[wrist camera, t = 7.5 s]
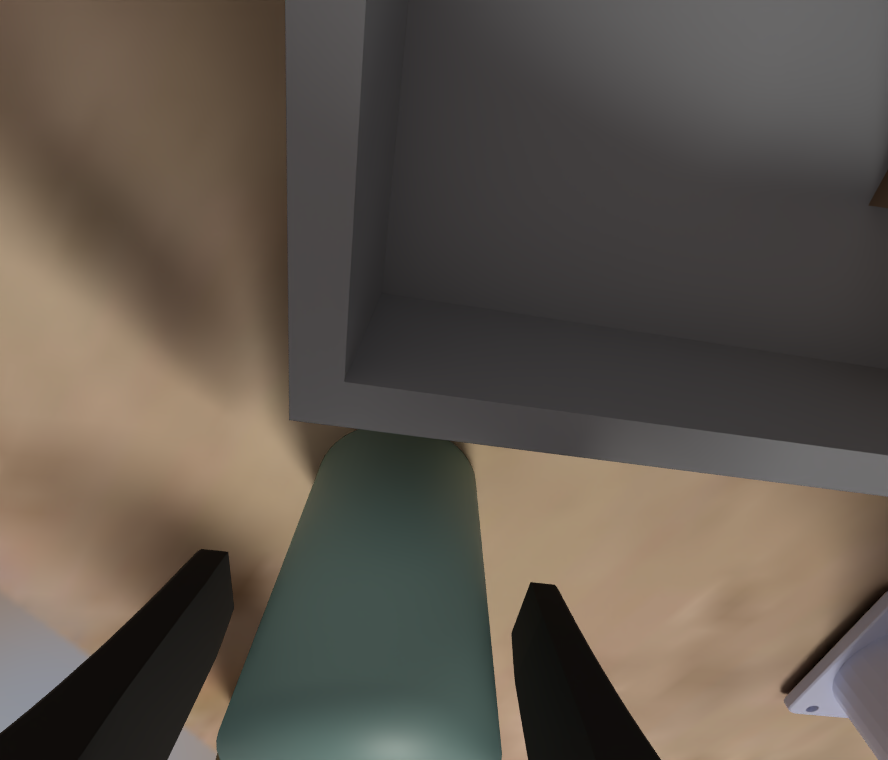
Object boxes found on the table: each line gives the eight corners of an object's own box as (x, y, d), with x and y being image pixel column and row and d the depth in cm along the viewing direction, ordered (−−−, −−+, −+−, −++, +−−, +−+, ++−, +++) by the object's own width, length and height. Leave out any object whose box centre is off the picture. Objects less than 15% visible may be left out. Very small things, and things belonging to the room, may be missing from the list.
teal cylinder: (490, 434, 13) (533, 695, 7) (460, 551, 15) (473, 825, 9) (320, 412, 13) (202, 667, 6) (316, 535, 15) (226, 809, 9)
